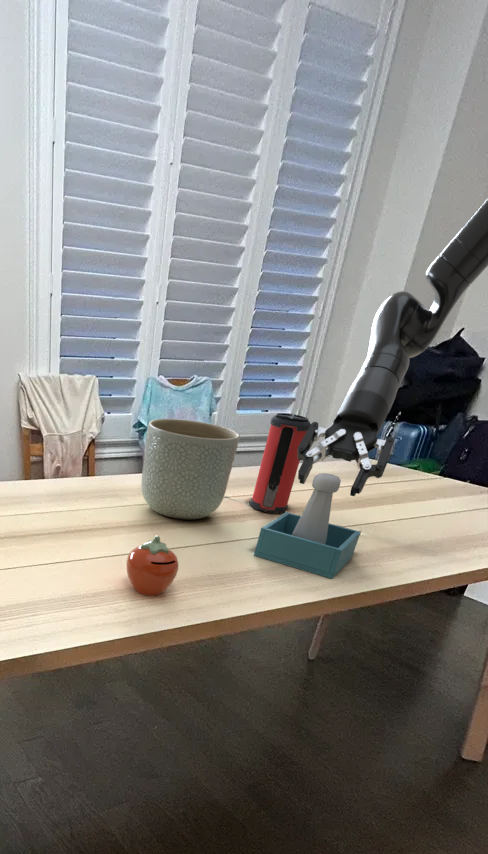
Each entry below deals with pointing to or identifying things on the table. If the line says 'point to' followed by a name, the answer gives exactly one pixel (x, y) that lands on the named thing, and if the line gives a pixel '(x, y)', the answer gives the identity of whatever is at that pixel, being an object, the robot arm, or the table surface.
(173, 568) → the tomato
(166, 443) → the planter
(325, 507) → the salt shaker
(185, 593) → the table surface
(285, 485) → the speaker
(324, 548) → the bin
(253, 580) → the table surface
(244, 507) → the table surface
